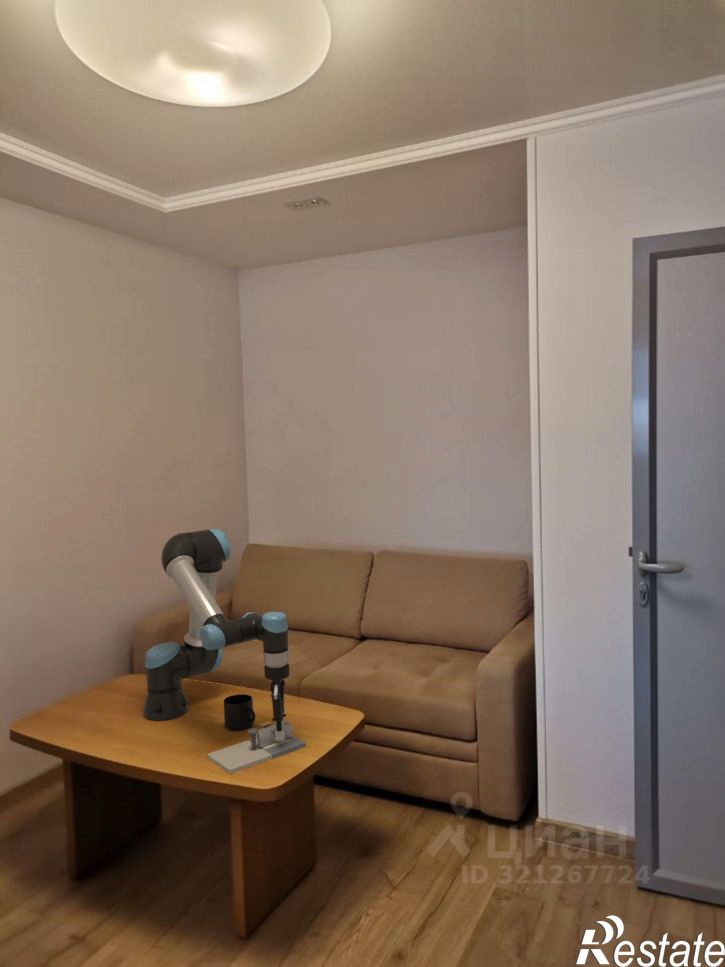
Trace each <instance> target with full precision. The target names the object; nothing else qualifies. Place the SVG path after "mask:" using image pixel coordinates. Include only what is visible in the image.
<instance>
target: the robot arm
mask: <svg viewBox="0 0 725 967" xmlns="http://www.w3.org/2000/svg"><path fill="white" fill-rule="evenodd" d="M230 557H231V546H230V542H229V540H228V538H227V535H226V534H225V533H224V532H223V531H222V530H221V529H219V528H213V529H209V528H208V529H203V530H196V531H189V532H181V533H177V534H175V535H173V536H171V537H170V538H169V539H168V540H167V541H166V542H165V544H164V545H163V548H162V551H161V559H160V560H161V565H162V568H163V570H164V572H165V574H166V575H167V577H168V578H170V579H173V581H174V583H175V584H176V586H177V588H178V590H179V591H180V593H181V594H182V596H183V598H184V600H185V601H186V603H187V605H188V606H189V621H188V622H189V625H188V632H187V633H186V634H185V635H184V636H183V643H182V644H180V645H179V643H178V642H176V641H175V642H174V641H169V642H163V643H162V642H161V643H159V644H157V645H156V644H155V645H154V646H151V647H150V648H149V649H148V650H147V651H146V653H145V662H144V666H145V673H146V674H145V676H146V677H145V678H146V689H147V693H146V697H145V700H144V704H143V708H142V713H143V714H142V715H143V717H144V718H145V719H147V720H151V721H167V720H171V719H176V718H180V717H181V716H183V715H185V714H186V713H187V712H188V711H189V703H188V700H187V698H186V696H185V692H184V690H183V686H182V680H184V679H187V678H191V677H195V676H199V675H202V674H208V673H210V672H212V671H215V670H217V669H218V668H219V667H220V666H221V664H222V662H223V655H224V654H223V653H224V651H223V648H226V647H230V646H233V645H239V644H240V645H241V644H244V643H247V642H248V643H249V642H251V641H257V640H258V641H260V642H262V649H263V650H262V652H263V664H264V666H263V667H264V678H265V679H266V680H271V684H270V687H269V688H270V691H271V693H270V696H271V702H272V703H271V704H272V713H273V717H272V719H271V722H274V725H275V739H276V741H284V740H285V729H284V721H285V718H287V714H286V713H285V685H286V682H285V679H287V678H289V677H290V674H291V673H290V664H289V663H290V660H289V659H290V658H289V657H290V656H291V655H292V654H291V652H289V624H288V618H287V615H286V613H284V612H283V611H280V612H279V611H269V612H266V613H263V614H261V613H259V612H253V611H252V612H246V613H245V614H243V615H242V616H241V617H239V618H234V619H229V620H228V619H227V617H226V616H225V615H224V614H225V613H224V612H223V611H222V609H221V608H220V606H219V604H218V603H217V601H216V598H217V584H218V574H219V573H220V572H221V571H222V570H223V563H225V562H226V561H228V560H229V559H230Z"/></svg>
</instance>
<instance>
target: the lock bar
mask: <svg viewBox="0 0 725 967" xmlns="http://www.w3.org/2000/svg"><path fill="white" fill-rule="evenodd" d="M284 729H285V739H287V738H290V737H292V736H293V724H292V723H290V722H288V721H286V720H284ZM273 742H276V739H275V724H272V726H269V727H266V728H263V729H260V728H259V729H258V733H257V734H256V746H258V747H262V746H265V745H267V744H270V743H273Z"/></svg>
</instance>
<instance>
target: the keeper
mask: <svg viewBox="0 0 725 967" xmlns="http://www.w3.org/2000/svg"><path fill="white" fill-rule="evenodd" d="M272 725H273V724H272V722H270V721H266V722H265V721H264V722H262V723H259V730H260V729H263V728H266V727H269V726H272Z"/></svg>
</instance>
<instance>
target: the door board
mask: <svg viewBox="0 0 725 967" xmlns="http://www.w3.org/2000/svg"><path fill="white" fill-rule="evenodd" d="M258 730H259V728H256V727H253V728H252V727H251V728H249V729H247V734H248V735H250V739H248V740H245V741H242V742H238V743H236V744H233V745H230V746H227V747H224V748H221V749H218V750H215V751H212V752H209V753H207V754H206V758H207V759H208V760H209V761H210V762H212V763H214V764H215V765H216V766H218V768H220V769H222V770H224V771H225V772H226V773H228V774H229V775H232V774H234V773H238V772H240V771H243V770H245V769H248V768H251V767H253V766H256V765H259V764H261V763H264V762H268V761H270V760H272V759H275V758H278V757H281V756H283V755H287V754H289V753H291V752H295V751H298V750H299V749H302V748H305V747H306V742H305V741H303V740H302V739H299V738H298V737H295V736H294V735H292V737H290V738H287V739H285V740H284V741H276V742H273V743H270V744H267V745H265V746H262V747H258V746H256V734H257V733H258Z"/></svg>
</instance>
